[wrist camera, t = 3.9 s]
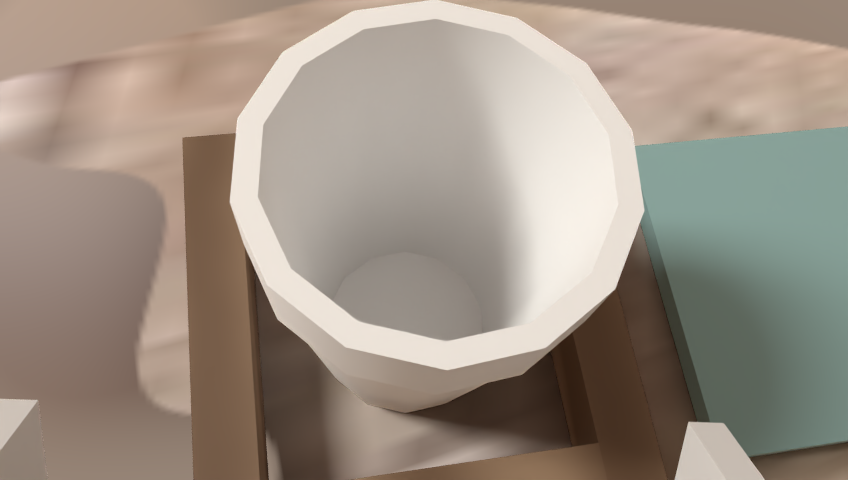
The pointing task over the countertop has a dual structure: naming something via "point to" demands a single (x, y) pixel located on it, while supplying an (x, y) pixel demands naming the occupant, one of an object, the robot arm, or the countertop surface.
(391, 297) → the foam cup
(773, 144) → the mat
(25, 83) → the countertop surface
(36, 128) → the countertop surface
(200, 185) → the brown flat square frame
